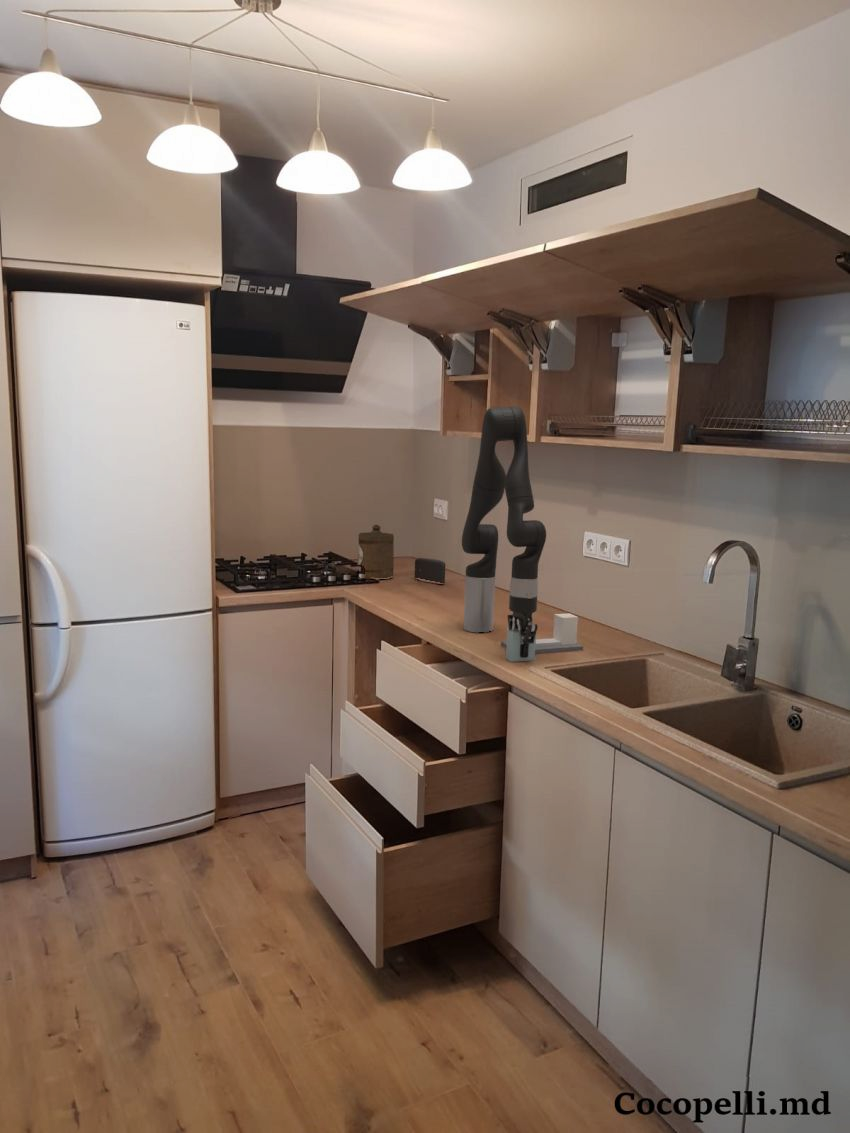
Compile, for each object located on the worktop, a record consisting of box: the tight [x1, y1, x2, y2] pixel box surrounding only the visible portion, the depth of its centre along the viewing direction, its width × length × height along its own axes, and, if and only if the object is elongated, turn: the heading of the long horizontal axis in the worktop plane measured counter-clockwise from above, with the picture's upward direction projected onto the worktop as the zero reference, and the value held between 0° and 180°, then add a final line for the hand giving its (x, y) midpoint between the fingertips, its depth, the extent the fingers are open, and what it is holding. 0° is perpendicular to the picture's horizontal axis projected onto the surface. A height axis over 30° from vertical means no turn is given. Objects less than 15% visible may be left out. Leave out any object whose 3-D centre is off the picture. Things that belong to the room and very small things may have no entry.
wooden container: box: [357, 524, 395, 578], centre depth 351 cm, size 15×15×22 cm
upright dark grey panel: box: [414, 557, 446, 583], centre depth 344 cm, size 16×5×9 cm, turn 47°
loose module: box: [505, 629, 537, 663], centre depth 231 cm, size 4×7×8 cm, turn 111°
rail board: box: [500, 612, 584, 655], centre depth 245 cm, size 11×21×9 cm, turn 111°
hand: (520, 654), depth 232 cm, fingers closed on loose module, 3 cm apart
